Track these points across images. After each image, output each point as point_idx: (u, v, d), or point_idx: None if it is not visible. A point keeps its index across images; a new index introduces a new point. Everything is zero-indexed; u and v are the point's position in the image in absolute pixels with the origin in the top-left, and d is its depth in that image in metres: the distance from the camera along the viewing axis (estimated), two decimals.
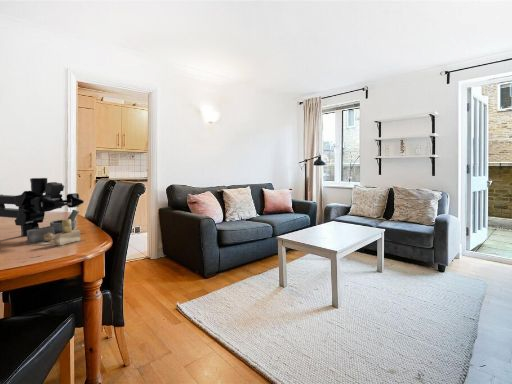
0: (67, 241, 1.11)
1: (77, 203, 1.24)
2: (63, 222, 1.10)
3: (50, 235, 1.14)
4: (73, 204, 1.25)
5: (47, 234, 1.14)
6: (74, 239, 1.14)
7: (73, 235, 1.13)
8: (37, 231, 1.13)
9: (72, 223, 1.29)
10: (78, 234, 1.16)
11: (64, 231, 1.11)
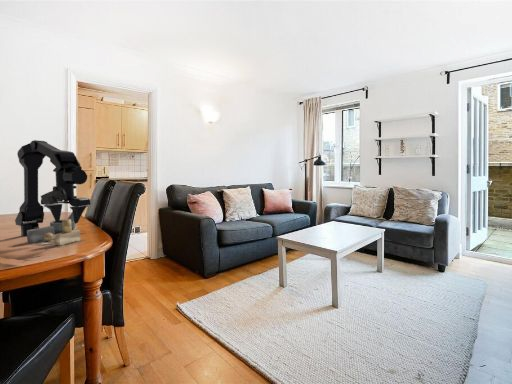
0: (67, 241, 1.11)
1: None
2: (63, 222, 1.10)
3: (50, 235, 1.14)
4: None
5: (47, 234, 1.14)
6: (74, 239, 1.14)
7: (73, 235, 1.13)
8: (37, 231, 1.13)
9: (72, 223, 1.29)
10: (78, 234, 1.16)
11: (64, 231, 1.11)
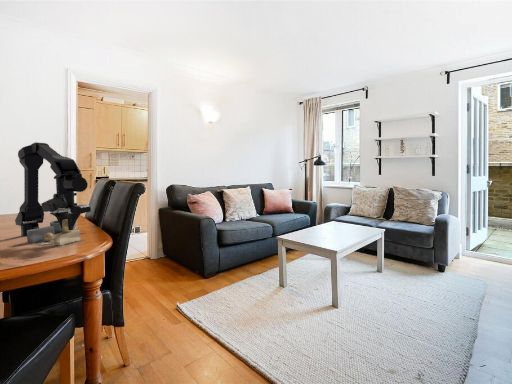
0: (67, 241, 1.11)
1: None
2: (63, 222, 1.10)
3: (50, 235, 1.14)
4: None
5: (47, 234, 1.14)
6: (74, 239, 1.14)
7: (73, 235, 1.13)
8: (37, 231, 1.13)
9: None
10: (78, 234, 1.16)
11: (64, 231, 1.11)
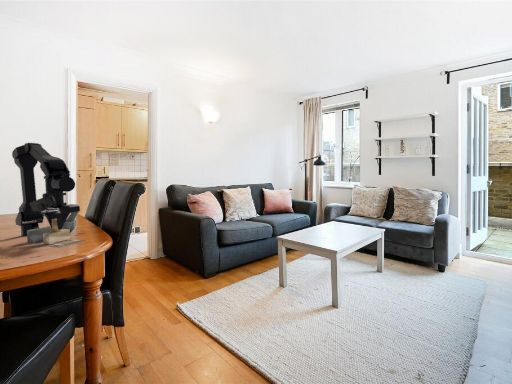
0: (56, 240, 1.12)
1: None
2: (52, 221, 1.12)
3: None
4: None
5: None
6: (64, 238, 1.15)
7: (62, 234, 1.14)
8: (37, 231, 1.13)
9: (72, 223, 1.29)
10: (68, 233, 1.17)
11: (53, 230, 1.12)
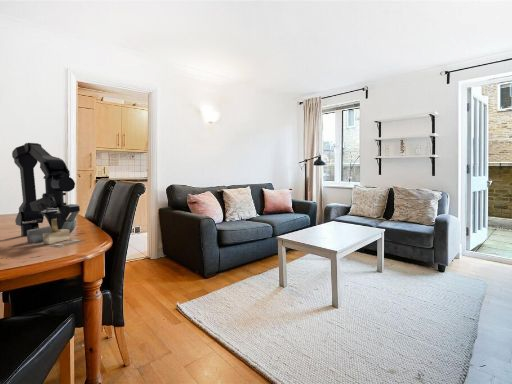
0: (56, 240, 1.12)
1: None
2: (52, 221, 1.12)
3: None
4: None
5: None
6: (63, 238, 1.15)
7: (62, 234, 1.14)
8: (37, 231, 1.13)
9: (72, 223, 1.29)
10: (67, 233, 1.17)
11: (53, 230, 1.12)
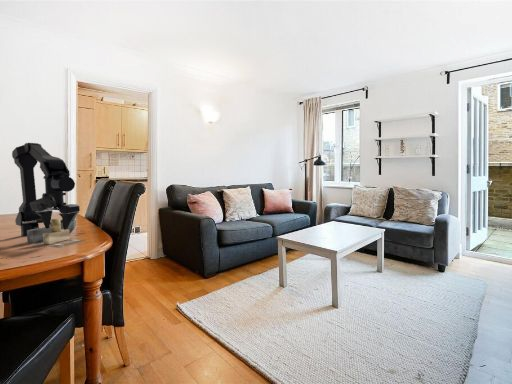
0: (56, 240, 1.12)
1: None
2: (52, 221, 1.12)
3: None
4: None
5: None
6: (63, 238, 1.15)
7: (62, 234, 1.14)
8: (37, 231, 1.13)
9: (72, 223, 1.29)
10: (67, 233, 1.17)
11: (53, 230, 1.12)
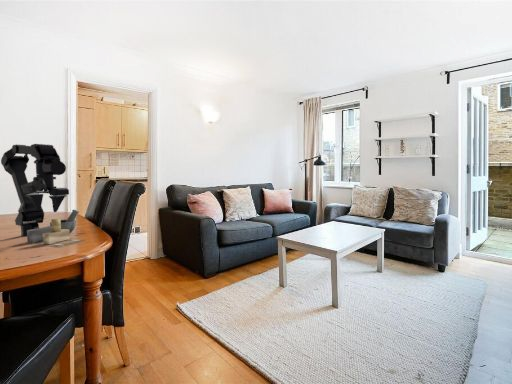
0: (56, 240, 1.12)
1: None
2: (52, 221, 1.12)
3: None
4: None
5: None
6: (63, 238, 1.15)
7: (62, 234, 1.14)
8: (37, 231, 1.13)
9: (72, 223, 1.29)
10: (67, 233, 1.17)
11: (53, 230, 1.12)
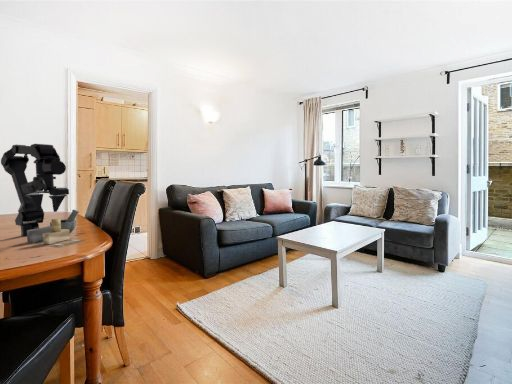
0: (56, 240, 1.12)
1: None
2: (52, 221, 1.12)
3: None
4: None
5: None
6: (63, 238, 1.15)
7: (62, 234, 1.14)
8: (37, 231, 1.13)
9: (72, 223, 1.29)
10: (67, 233, 1.17)
11: (53, 230, 1.12)
